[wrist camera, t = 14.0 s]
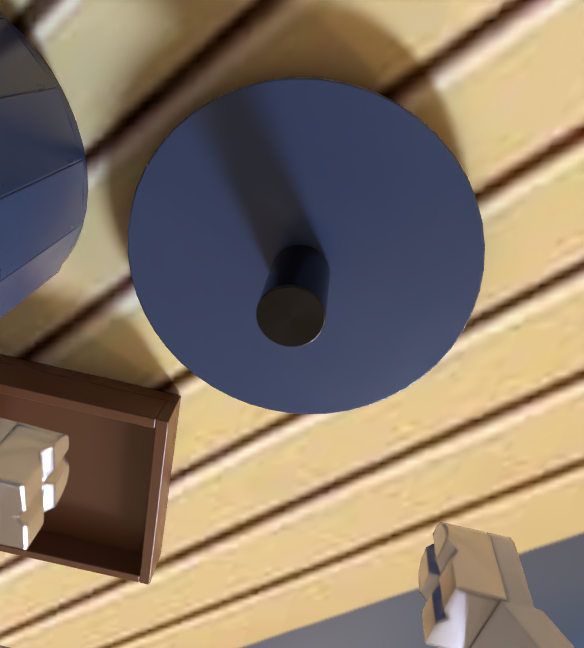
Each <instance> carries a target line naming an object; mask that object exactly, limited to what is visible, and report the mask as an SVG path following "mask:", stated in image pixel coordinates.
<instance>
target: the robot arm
mask: <svg viewBox="0 0 584 648" xmlns="http://www.w3.org/2000/svg"><path fill="white" fill-rule="evenodd" d="M68 449H69V436H67V435H66V434H63V433H59V432H56V431H52V430H48V429H44V428H40V427H36V426H33V425H29V424H25V423H19V422H16V421H12V420H8V419H4V418H0V544H1V545H6V546H11V547H16V548H20V549H25V550H27V548H28V547H29V545H30V544H31V542H32V541H33V539H34V538H35V536H36V535H37V533H38V532H39V530H40V529H41V527H42V526H43V524H44V512H46V511H47V510H49V509H51V508H53V507H55V505H56V504H57V502H58V501H59V499H60V497H61V496H62V493H63V491H64V488H65V486H66V483H67V480H68V475H69V463H68V461H67V460H66V458H65V457H64V455H65V453H66V452H67V450H68ZM433 538H434V544H432V545H430V546H428V547H426V549H425V551H424V553H423V556H422V558H421V563H420V568H419V591H420V594H421V595H422V597H423V598H424V599H425V601H426V602H427V603H426V605H425V607H424V609H423V611H422V619H423V628H424V637H425V644H428V645H432V646H436V647H439V648H575V647H574V646H573V645H572V644H571V643H570V642H569V641H568V639H567V638H566V637H565V636H564V635H563V634H562V633H561V631H559V629H558V628H557V627H556V626H555V625H554V624H553V623H552V621H551V620H550V619H549V618H548V617H547V616H546V614H545V613H544V612H543V611H542V610H539V609H535V608H534V604H533V601H532V598H531V595H530V592H529V588H528V585H527V582H526V579H525V575H524V572H523V569H522V566H521V563H520V559H519V556H518V553H517V550H516V547H515V543H514V541H513V540H512V539H511V538H509V537H505V536H501V535H496V534H492V533H485V532H483V531H478V530H474V529H470V528H465V527H461V526H456V525H452V524H447V523H443V522H441V523H439V524H438V525H437V527H436V529H435V531H434V532H433ZM0 648H9V647H5V646H1V645H0Z"/></svg>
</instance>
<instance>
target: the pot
mask: <svg viewBox="0 0 584 648" xmlns="http://www.w3.org/2000/svg"><path fill="white" fill-rule="evenodd" d="M87 195H88V179H87V165H86V159H85V154H84V148H83V143H82V140H81V137H80V133H79V130H78V126H77V123H76V120H75V118H74V116H73V113H72V111H71V108H70V106H69V104H68V101H67V99H66V97H65V95H64V93H63V91H62V90H61V88H60V86H59V84H58V82H57V80H56V79H55V77H54V75H53V74H52V72H51V71H50V69H49V68H48V66H47V65H46V63H45V62H44V60H43V59H42V58H41V56H40V55H39V53H38V52H37V51H36V50H35V48H34V47H33V46H32V45H31V44H30V42H29V41H28V40H27V39H26V38H25V37H24V35H23V34H22V33H21V32H20V31H19V30H18V29H17V28H16V27H15V26H14V25H13V24H12V23H11V22H10V21H9V20H8V19H7V18H6V17H5V16H4V15H3V14H2V13H1V12H0V319H1V318H2V317H3V316H4V315H6V314H7V313H8V312H9V311H11V310H12V309H13V308H14V307H16V306H17V305H18V304H19V303H20V302H22V301H23V300H24V299H25V298H27V297H28V296H29V295H30V294H32V293H33V292H34V291H35V290H37V289H38V288H39V287H40V286H42V285H43V284H44V283H45V282H46V281H48V280H49V279H50V278H51V277H53V276H54V275H55V274H56V273H58V271H59V270H60V268H61V266H62V264H63V263H64V261H65V260H66V259H67V258H68V256H69V254H70V253H71V251H72V249H73V248H74V246H75V244H76V242H77V239H78V237H79V234H80V232H81V229H82V226H83V222H84V217H85V213H86V207H87Z"/></svg>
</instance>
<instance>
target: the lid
mask: <svg viewBox="0 0 584 648" xmlns="http://www.w3.org/2000/svg"><path fill="white" fill-rule="evenodd" d="M484 254H485V243H484V233H483V223H482V219H481V215H480V211H479V207H478V203H477V199H476V197H475V195H474V192H473V190H472V188H471V185H470V183H469V180H468V178H467V176H466V174H465V173H464V171H463V169H462V168H461V166H460V164H459V163H458V161H457V159H456V158H455V156H454V155H453V153H452V152H451V151H450V150H449V149H448V147H447V146H446V145H445V144H444V143H443V141H442V140H441V139H440V138H439V136H438V135H437V134H436V133H435V132H434V131H433V130H432V129H431V128H429V127H428V126H427V125H426V124H425V123H424V122H423V121H422V120H421V119H419V118H418V117H417V116H416V115H414V114H413V113H411V112H410V111H409V110H407V109H406V108H404V107H403V106H401V105H400V104H398V103H397V102H395V101H393V100H391V99H389V98H387V97H385V96H383V95H381V94H378V93H376V92H374V91H372V90H370V89H367V88H364V87H360V86H357V85H354V84H351V83H347V82H344V81H338V80H331V79H325V78H319V77H287V78H280V79H272V80H265V81H261V82H258V83H254V84H250V85H247V86H243V87H240V88H238V89H235V90H233V91H231V92H229V93H226V94H224V95H222V96H220V97H217V98H215V99H213V100H212V101H210V102H209V103H207V104H206V105H204V106H202V107H201V108H199V109H198V110H196V111H195V112H193V113H192V114H191V115H189V116H188V117H187V118H186V119H185V120H184V121H182V122H181V123H180V124H179V125H178V126H177V127H176V128H174V129H173V131H172V132H171V133H170V134H169V135H168V136H167V138H166V139H165V140H164V141H163V142H162V143H161V145H160V146H159V147H158V148H157V150H156V152H155V153H154V155H153V156H152V158H151V160H150V161H149V163H148V164H147V166H146V168H145V170H144V172H143V175H142V177H141V179H140V181H139V184H138V186H137V188H136V192H135V195H134V199H133V203H132V206H131V210H130V218H129V225H128V257H129V264H130V271H131V276H132V280H133V283H134V287H135V290H136V294H137V297H138V299H139V301H140V304H141V306H142V308H143V311H144V313H145V315H146V317H147V319H148V320H149V322H150V324H151V325H152V327H153V329H154V331H155V332H156V334H157V335H158V336H159V338H160V339H161V340H162V342H163V343H164V344H165V346H166V347H167V348H168V349H169V350H170V351H171V353H172V354H173V355H174V356H175V357H176V358H177V359H178V360H179V361H180V362H181V363H182V364H183V365H184V366H186V367H187V368H188V369H189V370H190V371H191V372H193V373H194V374H195V375H196V376H198V377H199V378H201V379H202V380H203V381H205V382H206V383H208V384H209V385H211V386H212V387H214V388H216V389H218V390H220V391H222V392H223V393H225V394H227V395H229V396H231V397H233V398H236V399H238V400H241V401H243V402H246V403H248V404H251V405H255V406H259V407H262V408H266V409H269V410H275V411H281V412H286V413H298V414H327V413H335V412H342V411H349V410H352V409H356V408H360V407H364V406H368V405H370V404H373V403H376V402H378V401H381V400H384V399H386V398H388V397H390V396H392V395H394V394H396V393H398V392H400V391H402V390H404V389H405V388H407V387H408V386H410V385H411V384H413V383H414V382H416V381H417V380H419V379H420V378H422V377H423V376H424V375H425V374H426V373H427V372H428V371H430V370H431V369H432V368H433V367H434V366H435V365H436V364H438V362H439V361H440V360H441V359H442V358H443V357H444V356H445V355H446V353H447V352H448V351H449V350H450V349H451V348H452V346H453V345H454V343H455V342H456V340H457V339H458V337H459V336H460V334H461V333H462V331H463V330H464V328H465V326H466V324H467V322H468V320H469V318H470V316H471V314H472V312H473V309H474V306H475V303H476V300H477V297H478V294H479V291H480V287H481V281H482V276H483V271H484Z"/></svg>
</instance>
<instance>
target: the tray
mask: <svg viewBox="0 0 584 648" xmlns="http://www.w3.org/2000/svg"><path fill="white" fill-rule="evenodd" d="M180 399H181V396H179V395H175V394H171V393H166V392H162V391H157V390H153V389H149V388H144V387H140V386H136V385H131V384H127V383H122V382H118V381H114V380H109V379H105V378H101V377H96V376H92V375H87V374H83V373H79V372H74V371H70V370H66V369H61V368H57V367H52V366H48V365H44V364H39V363H35V362H31V361H26V360H22V359H17V358H13V357H9V356H4V355H0V418H4V419H8V420H12V421H16V422H19V423H25V424H29V425H33V426H36V427H40V428H44V429H48V430H52V431H56V432H59V433H63V434H66V435H67V436H69V449H68V450H67V452H66V453H65V455H64V457H65V458H66V460H67V461H68V463H69V475H68V480H67V483H66V486H65V488H64V491H63V493H62V496H61V497H60V499H59V501H58V502H57V504H56V505H55V507H53V508H51V509H49V510H47V511H46V512H44V524H43V526H42V527H41V529H40V530H39V532H38V533H37V535H36V536H35V538H34V539H33V541H32V542H31V544H30V545H29V547H28V548H27V550H25V549H20V548H16V547H11V546H6V545H1V544H0V551H3V552H7V553H12V554H16V555H20V556H25V557H29V558H34V559H38V560H43V561H47V562H52V563H56V564H60V565H65V566H69V567H74V568H78V569H83V570H87V571H92V572H96V573H100V574H105V575H109V576H114V577H118V578H123V579H127V580H132V581H136V582H140V583H144V584H150V581H151V579H152V576H153V573H154V571H155V568H156V565H157V562H158V560H159V557H160V554H161V547H162V539H163V531H164V524H165V516H166V508H167V500H168V492H169V485H170V477H171V469H172V461H173V454H174V446H175V438H176V430H177V423H178V415H179V407H180Z"/></svg>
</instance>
